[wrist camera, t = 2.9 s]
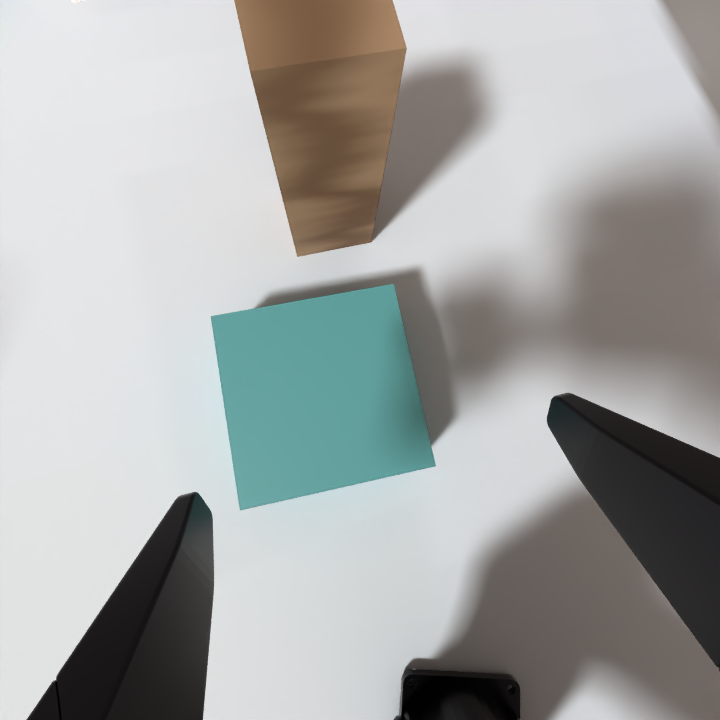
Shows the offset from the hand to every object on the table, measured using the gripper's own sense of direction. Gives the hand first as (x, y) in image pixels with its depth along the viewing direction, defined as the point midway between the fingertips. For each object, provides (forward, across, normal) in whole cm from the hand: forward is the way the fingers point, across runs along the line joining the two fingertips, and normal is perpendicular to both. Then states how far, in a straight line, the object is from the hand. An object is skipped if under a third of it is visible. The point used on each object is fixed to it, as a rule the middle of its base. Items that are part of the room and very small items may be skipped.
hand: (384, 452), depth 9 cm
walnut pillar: (+20, -2, -1) cm, 20 cm away
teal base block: (+12, +1, +8) cm, 14 cm away
